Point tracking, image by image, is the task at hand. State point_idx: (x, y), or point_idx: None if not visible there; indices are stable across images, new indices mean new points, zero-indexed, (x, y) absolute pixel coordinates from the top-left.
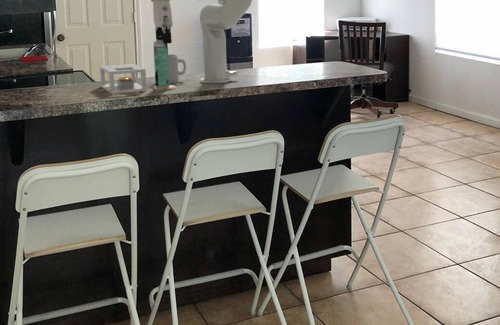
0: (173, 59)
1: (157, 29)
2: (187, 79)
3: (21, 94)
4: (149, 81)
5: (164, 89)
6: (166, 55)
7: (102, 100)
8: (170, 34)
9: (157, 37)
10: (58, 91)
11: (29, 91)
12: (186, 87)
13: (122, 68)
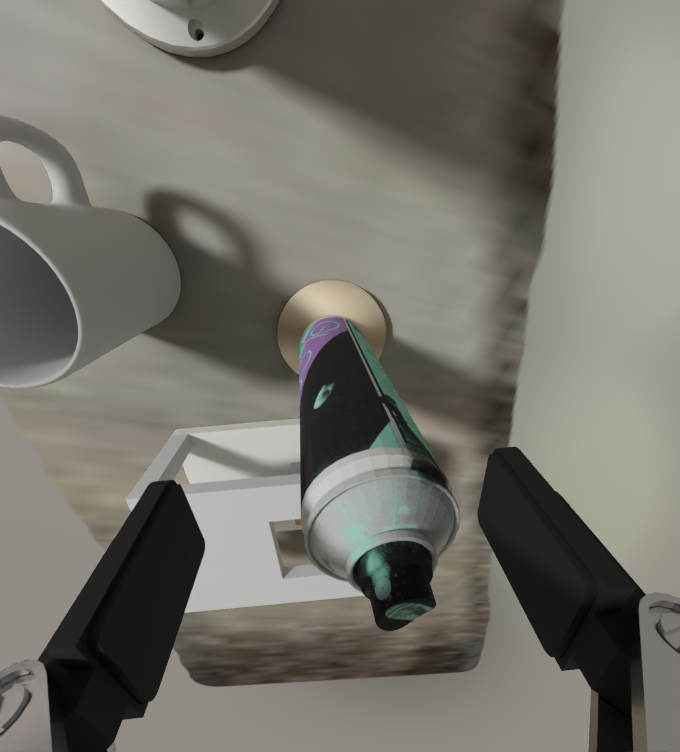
0: (75, 260)
1: (96, 743)
2: (33, 121)
3: (275, 664)
4: (95, 361)
5: (383, 346)
6: (406, 410)
7: (465, 539)
8: (601, 557)
9: (188, 584)
10: (259, 614)
11: (235, 656)
12: (348, 219)
13: (276, 549)
